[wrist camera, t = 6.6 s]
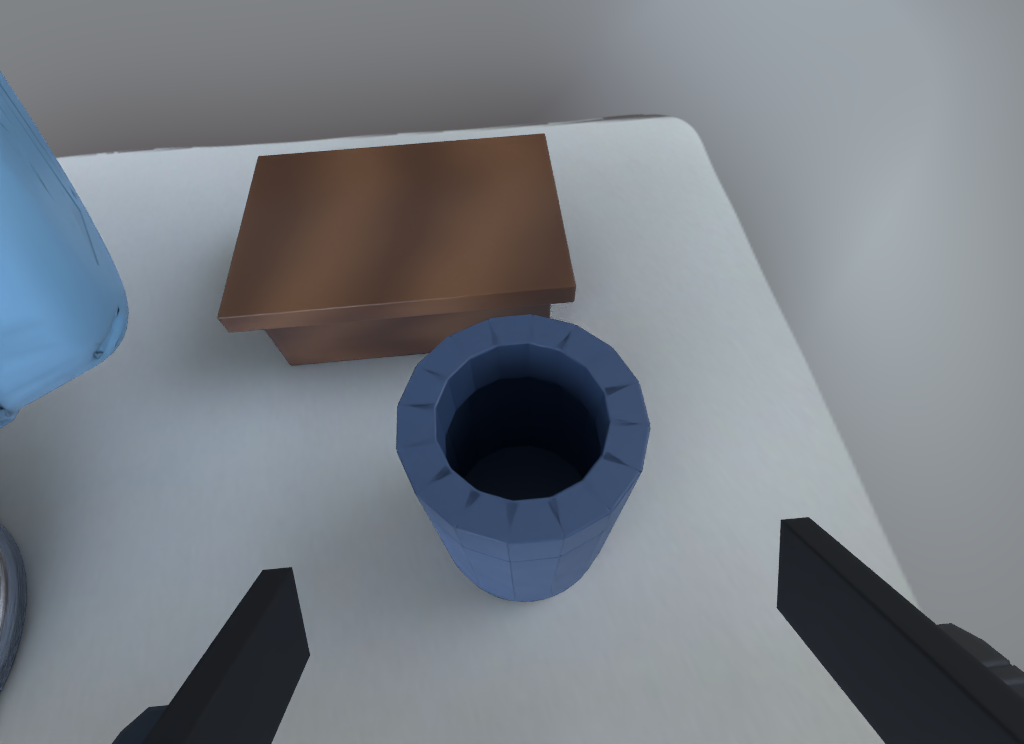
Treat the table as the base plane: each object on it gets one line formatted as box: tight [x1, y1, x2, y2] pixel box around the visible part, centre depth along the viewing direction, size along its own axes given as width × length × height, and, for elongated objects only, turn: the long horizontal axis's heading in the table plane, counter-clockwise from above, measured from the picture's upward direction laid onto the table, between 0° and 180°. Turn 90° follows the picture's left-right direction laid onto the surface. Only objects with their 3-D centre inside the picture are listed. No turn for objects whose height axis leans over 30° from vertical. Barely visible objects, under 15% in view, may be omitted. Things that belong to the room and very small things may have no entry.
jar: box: [396, 314, 650, 602], centre depth 21 cm, size 8×8×11 cm
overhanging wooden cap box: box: [218, 134, 576, 365], centre depth 30 cm, size 17×12×6 cm
